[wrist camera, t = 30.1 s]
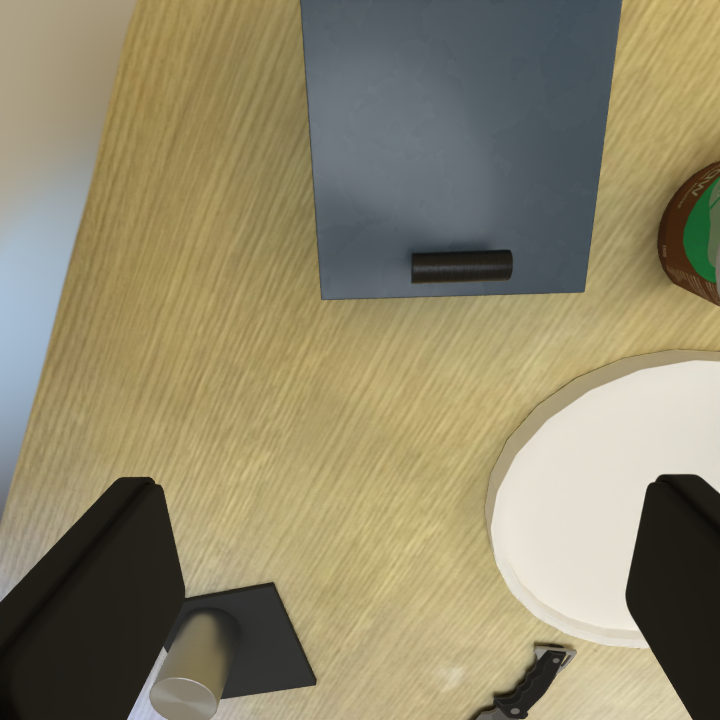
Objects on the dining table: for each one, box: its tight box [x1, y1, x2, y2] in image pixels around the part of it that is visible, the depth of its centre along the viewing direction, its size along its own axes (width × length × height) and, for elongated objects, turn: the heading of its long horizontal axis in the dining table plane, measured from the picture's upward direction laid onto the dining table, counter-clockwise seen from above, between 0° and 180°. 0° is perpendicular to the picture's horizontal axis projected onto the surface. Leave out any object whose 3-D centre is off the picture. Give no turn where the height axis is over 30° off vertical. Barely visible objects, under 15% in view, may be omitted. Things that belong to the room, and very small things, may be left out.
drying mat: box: [163, 583, 316, 699], centre depth 47 cm, size 14×14×1 cm
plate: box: [485, 349, 720, 648], centre depth 38 cm, size 28×28×2 cm
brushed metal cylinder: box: [149, 608, 241, 720], centre depth 42 cm, size 6×6×7 cm
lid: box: [300, 0, 622, 300], centre depth 22 cm, size 18×16×5 cm
